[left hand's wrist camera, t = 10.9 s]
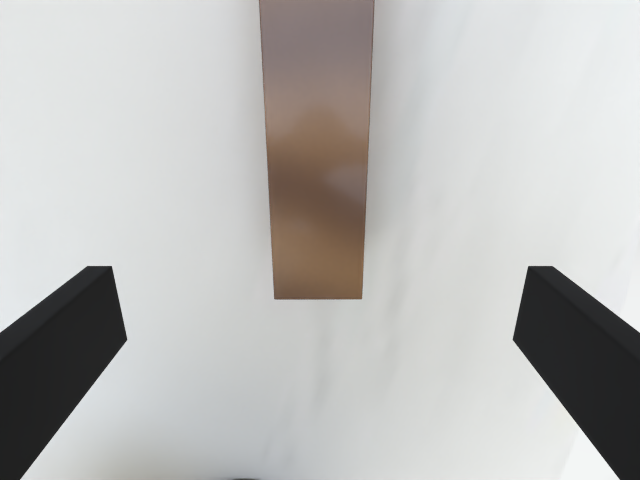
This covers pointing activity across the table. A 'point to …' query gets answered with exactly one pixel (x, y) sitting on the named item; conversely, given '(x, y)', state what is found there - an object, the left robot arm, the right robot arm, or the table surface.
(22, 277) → the table surface
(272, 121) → the bar
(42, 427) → the left robot arm
